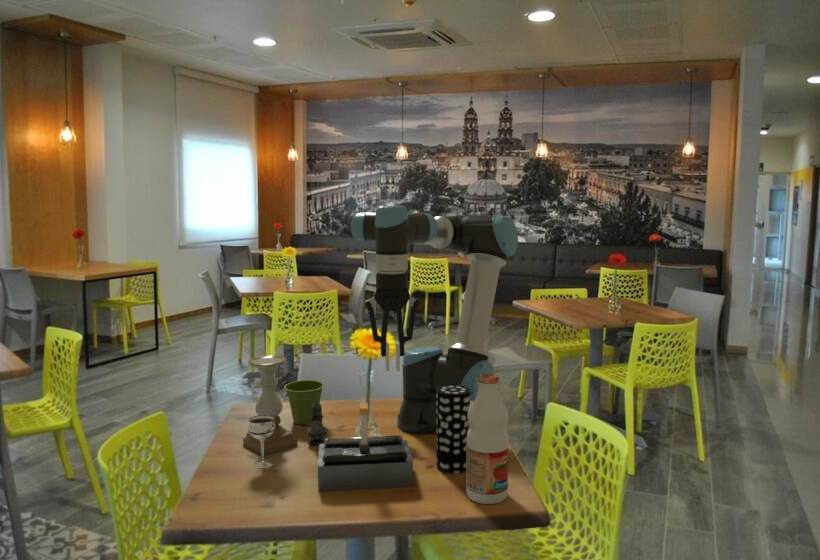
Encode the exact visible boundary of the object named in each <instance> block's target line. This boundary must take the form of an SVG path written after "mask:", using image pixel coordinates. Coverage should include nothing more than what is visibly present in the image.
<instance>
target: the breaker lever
mask: <svg viewBox="0 0 820 560" xmlns="http://www.w3.org/2000/svg"><path fill="white" fill-rule="evenodd" d="M358 405H359V406H358V409H359V416H360V437H361V440H360V442H359V449H360V453H361V454H368V453H369V451H370V448H369V442H368V440H367V437H368V416H369V405H368V402H363V403H362V402H361V403H360V402H359V404H358Z"/></svg>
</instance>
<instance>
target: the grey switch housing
mask: <svg viewBox="0 0 820 560" xmlns="http://www.w3.org/2000/svg"><path fill="white" fill-rule="evenodd" d="M324 439H325V440H324V444H319V446H318V459H317V484H318V485H317V490H318V492H328V491H329V492H332V491H348V490H351V491H352V490H368V489H387V488H388V489H390V488H405V487H406V488H408V487H410V488H411V487H413V486H414V484H413V483H414V474H413V473H414V466H413V465H414V462H413V458H412V454H411V450H410V448H409V444H408V440H407V439H404V438H403V436H402V435H377V436H367V440H368V442H369V448H370V451H369V453H368V454H361V453H360V449H359V442H360V440H361V436H357V437H356V436H355V437H354V436H353V437H335V438H334V437H331V438H330V437H329V438H324Z"/></svg>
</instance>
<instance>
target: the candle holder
mask: <svg viewBox="0 0 820 560" xmlns="http://www.w3.org/2000/svg"><path fill="white" fill-rule="evenodd" d="M247 364H248V366H250V367H252V368H256V369H257V370H258V371H259V373H260V375H261V377H260V380H259V382H258V383H257V384H258V386H260V388H261V395H260V397H259V399H258V400H257V402H256V404H255V408H254V409H255V413H256V415H271V416H274V417H275V420H274V422H275V431H274V433H273V434H272V435H271V436H270V437H269V438H267V439H266V440H265V441H264V456H267V455H270V454H271V455H272V454H274V453H277V452H280V451H283V450H287V449H289V448H293V447H296V446H297V445H298V438H297V437H295V436H294V433H293V432H292V431H290V430H288V429H287V428H284V427H283V426H282V425H280V424H281V421H282V418H281V416H279V415H280V414H281V413H282V411H283V403H282V401H281V399H280V398H279V397H278V395H277V393H276V391H275V390H276V387H277V385H278V384H279V382H278V380H277V378H276V376H275V375H276V374H275V373H276V371H277V370H278V367H282V366H284V365H286V364H287V358H286V357H284V356H282V355H260V356H255V357H252V358H250V359H248V361H247ZM242 443H243V444H242V446H244V447H246V448H248V449H250V450H252V451H253V452H255V453H257V454H259V455H261V456H262V451H261V441H259V439H255V438H254V437H253V436H251V435H250V433H249V431H248V432H246V436H245V437H243V438H242Z"/></svg>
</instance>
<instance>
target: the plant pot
mask: <svg viewBox="0 0 820 560" xmlns="http://www.w3.org/2000/svg"><path fill="white" fill-rule="evenodd" d="M324 386H325V383H324V382H322V381H320V380H314V379H303V380H295V381H292V382H289V383H286V384H285V385H284V386H283V388H284V390H286V396H287V397H288V402H289V405H290V410H291V415H292V421H293V423H294V424H296V425H298V424H299V425H305V426H309V424H310V425H311V424H312V423H311V418H310V416H311V415H312V411H311V406H312V405H313V404H315V403H316V400H317V403H319V404H321V396H322V392H323V388H324ZM299 425H298V426H299Z"/></svg>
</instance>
